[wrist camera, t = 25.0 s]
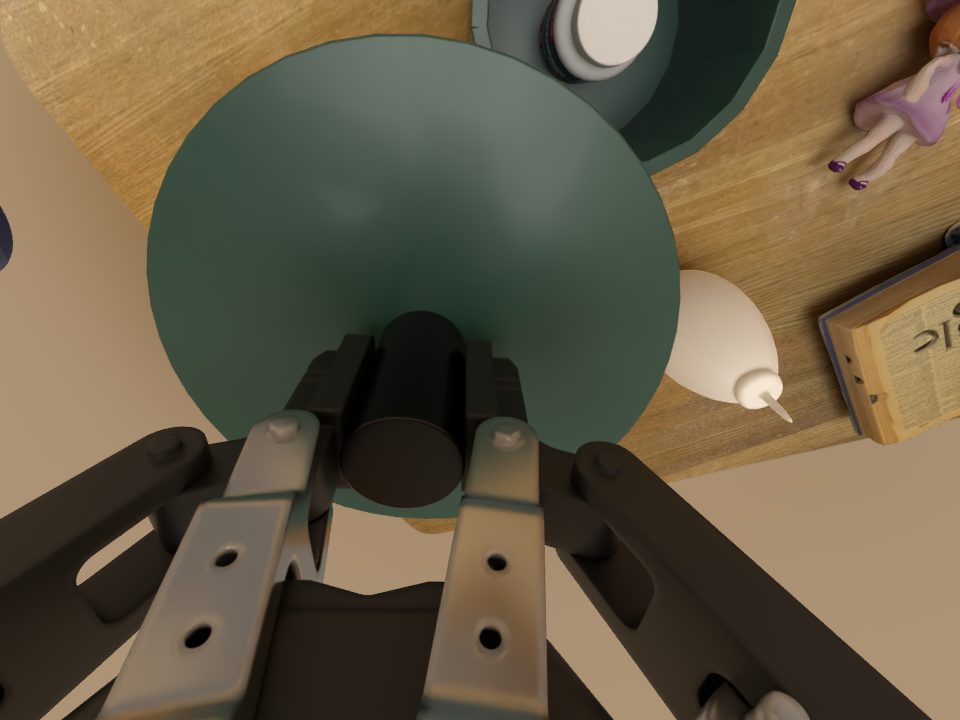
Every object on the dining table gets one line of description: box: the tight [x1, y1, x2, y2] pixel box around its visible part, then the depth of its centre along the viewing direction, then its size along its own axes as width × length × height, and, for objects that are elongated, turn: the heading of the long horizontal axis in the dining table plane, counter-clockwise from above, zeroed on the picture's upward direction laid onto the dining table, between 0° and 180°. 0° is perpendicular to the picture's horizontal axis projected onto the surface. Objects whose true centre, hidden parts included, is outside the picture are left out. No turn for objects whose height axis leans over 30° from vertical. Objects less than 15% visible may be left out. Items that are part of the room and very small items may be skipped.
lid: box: [147, 34, 681, 519], centre depth 12 cm, size 16×16×6 cm
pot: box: [468, 0, 796, 176], centre depth 24 cm, size 15×15×12 cm
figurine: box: [828, 0, 960, 190], centre depth 29 cm, size 9×8×15 cm
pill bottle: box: [539, 0, 658, 84], centre depth 25 cm, size 5×5×9 cm
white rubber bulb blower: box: [664, 270, 792, 422], centre depth 31 cm, size 8×8×18 cm
